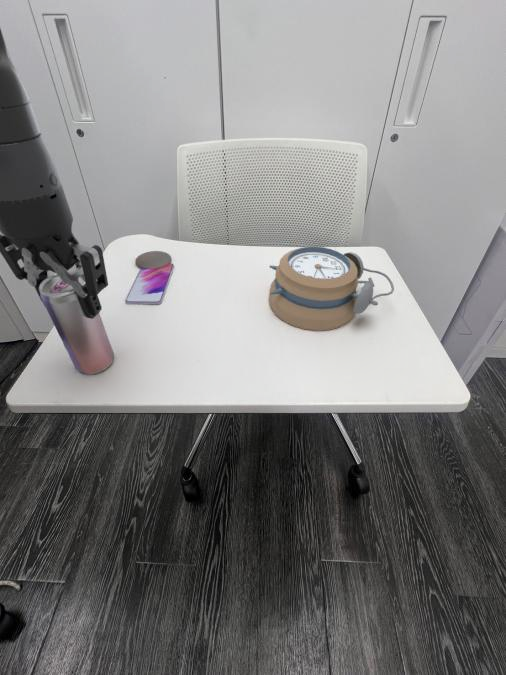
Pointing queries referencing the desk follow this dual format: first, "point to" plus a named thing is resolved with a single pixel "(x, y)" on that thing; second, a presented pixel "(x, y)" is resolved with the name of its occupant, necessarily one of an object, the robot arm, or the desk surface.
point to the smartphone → (150, 286)
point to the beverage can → (76, 326)
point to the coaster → (153, 260)
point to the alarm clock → (320, 288)
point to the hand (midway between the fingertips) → (73, 309)
